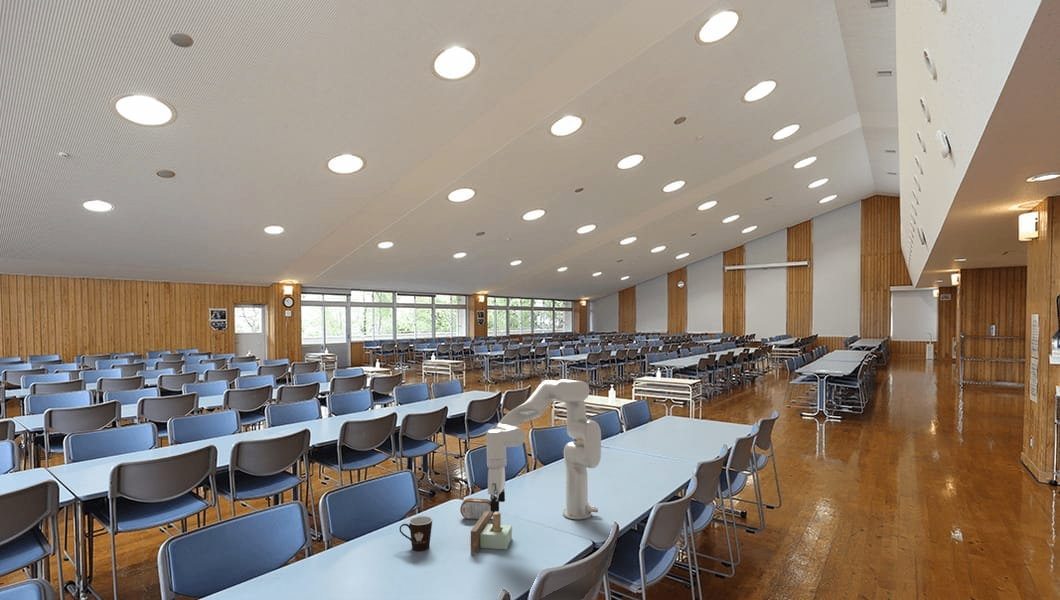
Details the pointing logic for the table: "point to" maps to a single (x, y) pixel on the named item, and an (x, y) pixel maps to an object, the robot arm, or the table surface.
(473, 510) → the tin
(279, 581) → the table surface
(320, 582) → the table surface
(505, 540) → the block
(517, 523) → the table surface
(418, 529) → the coffee mug
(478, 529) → the wall
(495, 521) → the dowel
